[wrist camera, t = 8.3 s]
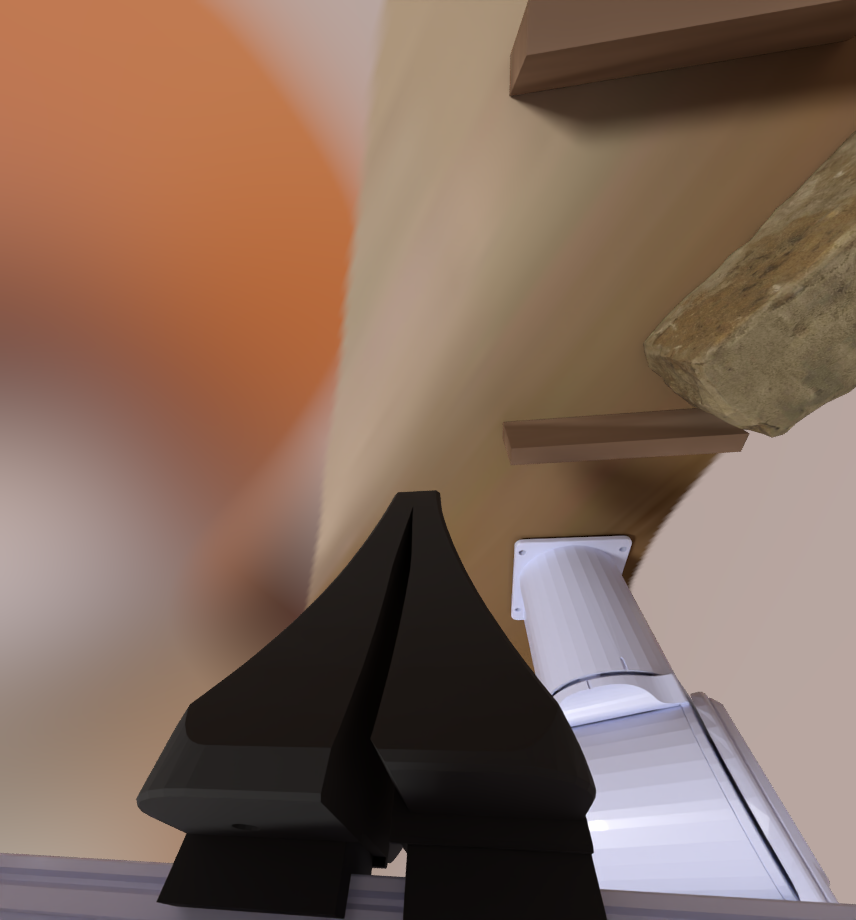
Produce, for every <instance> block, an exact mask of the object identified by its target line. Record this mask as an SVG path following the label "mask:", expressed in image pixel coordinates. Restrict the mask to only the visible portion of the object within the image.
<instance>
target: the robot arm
mask: <svg viewBox="0 0 856 920" xmlns="http://www.w3.org/2000/svg"><path fill="white" fill-rule="evenodd" d="M631 545H632V541H631V539H630V538H629V537H628V536H600V537H574V538H548V539H522V540H518V541H517V542H516V543H515V550H514V569H513V587H512V606H511V615H512V618H513V619H515V620H524V621H525V626H526V631H527V636H528V640H529V645H530V650H531V655H532V660H533V664H534V669H535V674H536V675H535V674H534V672H533V671H532V670H531V669H530V667H529V666H528V665H527V664H526V662H525V661H524V660H523V658H522V657H521V655H520V654H519V653H518V651H517V650H516V649H515V647H514V646H513V645H512V643H511V642H510V641H509V639H508V638H507V636H506V635H505V633H504V632H503V630H502V629H501V627H500V626H499V624H498V623H497V621H496V620H495V619H494V617H493V616H492V614H491V613H490V611H489V610H488V608H487V607H486V605H485V603H484V602H483V600H482V598H481V597H480V595H479V593H478V592H477V590H476V588H475V586H474V585H473V583H472V581H471V579H470V577H469V576H468V574H467V572H466V570H465V568H464V566H463V564H462V562H461V560H460V558H459V556H458V553H457V551H456V549H455V547H454V544H453V542H452V539H451V537H450V534H449V532H448V529H447V526H446V523H445V520H444V517H443V513H442V507H441V498H440V493H439V492H438V491H436V490H434V491H416V492H398V493H397V494H396V495H395V497H394V498H393V500H392V502H391V503H390V505H389V507H388V508H387V510H386V512H385V513H384V515H383V516H382V518H381V520H380V521H379V523H378V524H377V526H376V527H375V528H374V530H373V531H372V533H371V534H370V536H369V537H368V539H367V540H366V541H365V543H364V544H363V545H362V547H361V548H360V549H359V551H358V552H357V553H356V554H355V556H354V557H353V558H352V560H351V561H350V562H349V563H348V565H347V566H346V567H345V568H344V570H343V571H342V572H341V573H340V574H339V575H338V577H337V578H336V579H335V580H334V581H333V582H332V583H331V584H330V585H329V587H328V588H327V589H326V590H325V591H324V592H323V593H322V594H321V595H320V596H319V597H318V598H317V599H316V600H315V601H314V602H313V603H312V604H311V605H310V606H309V607H308V608H307V609H306V610H305V611H304V612H303V613H302V614H301V615H300V616H299V617H298V618H297V619H296V620H295V621H294V622H293V623H292V624H290V625H289V626H288V627H287V628H286V629H285V630H284V631H282V632H281V633H280V634H279V635H278V636H277V637H275V639H273V640H272V641H271V642H270V643H269V644H267V645H266V646H265V647H264V648H263V649H262V650H260V651H259V652H258V653H257V654H256V655H254V656H253V657H252V658H251V659H250V660H248V661H247V662H246V663H245V664H244V665H242V666H241V667H239V668H238V669H237V670H236V671H234V672H233V673H232V674H230V675H229V676H228V677H226V678H225V679H224V680H222V681H221V682H220V683H218V684H217V685H216V686H214V687H213V688H212V689H210V690H209V691H208V692H206V693H205V694H204V695H202V696H201V697H200V698H198V699H197V700H195V701H194V702H193V703H192V704H190V705H189V707H188V709H187V710H186V712H185V714H184V715H183V717H182V718H181V720H180V722H179V723H178V725H177V726H176V728H175V730H174V732H173V733H172V735H171V737H170V739H169V741H168V742H167V744H166V746H165V748H164V750H163V752H162V753H161V755H160V757H159V759H158V761H157V762H156V764H155V766H154V768H153V769H152V771H151V773H150V775H149V777H148V778H147V780H146V782H145V784H144V786H143V788H142V789H141V791H140V793H139V795H138V797H137V799H136V800H137V805H138V807H139V809H140V810H141V811H142V812H144V813H145V814H147V815H149V816H151V817H153V818H155V819H157V820H159V821H161V822H163V823H165V824H168V825H170V826H172V827H174V828H176V829H178V830H180V831H183V832H185V833H187V834H186V836H185V838H184V841H183V843H182V845H181V847H180V850H179V852H178V854H177V856H176V859H175V861H174V863H160V862H159V863H158V862H143V861H127V860H109V859H93V858H77V857H60V856H44V855H27V854H9V853H0V920H856V904H841V903H838V901H837V900H836V898H835V896H834V895H833V893H832V891H831V889H830V888H829V884H830V881H829V879H828V878H827V876H826V874H825V873H824V871H823V869H822V868H821V867H820V864H819V863H818V861H817V859H816V858H815V856H814V854H813V853H812V851H811V849H810V848H809V846H808V845H807V843H806V841H805V840H804V838H803V836H802V835H801V833H800V831H799V830H798V828H797V826H796V825H795V823H794V822H793V820H792V818H791V816H790V815H789V813H788V812H787V810H786V808H785V807H784V805H783V803H782V802H781V800H780V798H779V797H778V795H777V793H776V792H775V790H774V789H773V787H772V785H771V783H770V782H769V780H768V779H767V777H766V775H765V774H764V772H763V770H762V769H761V767H760V765H759V764H758V762H757V761H756V759H755V757H754V755H753V754H752V752H751V750H750V749H749V747H748V746H747V744H746V742H745V741H744V739H743V737H742V736H741V734H740V732H739V731H738V729H737V727H736V726H735V724H734V723H733V721H732V719H731V717H730V716H729V714H728V713H727V711H726V709H725V708H724V706H723V705H722V704H721V703H719V702H717V701H715V700H714V699H712V698H708V697H707V695H706V694H705V693H703V692H696V693H692V694H691V698H692V699H691V698H690V696H689V695H688V693H687V692H686V691H685V689H684V688H683V686H682V685H681V683H680V682H679V680H678V679H677V677H676V675H675V674H674V672H673V670H672V668H671V666H670V664H669V662H668V661H667V659H666V657H665V655H664V653H663V651H662V649H661V647H660V646H659V644H658V642H657V640H656V638H655V636H654V634H653V633H652V631H651V629H650V627H649V625H648V623H647V621H646V620H645V618H644V616H643V614H642V612H641V610H640V608H639V607H638V605H637V603H636V601H635V599H634V597H633V595H632V593H631V592H630V590H629V588H628V586H627V584H626V582H625V580H624V579H623V577H622V573H623V569H624V566H625V563H626V560H627V557H628V554H629V551H630V548H631ZM521 550H523V551H521ZM692 700H693V701H692ZM402 848H404V850H405V851H406V853H407V863H406V877H392V876H375V875H371V871H372V868H385V869H386V868H387V863H391V862H392V861H393V860H394V859H395V858H396V857H397V855H398V854H399V853H400V851H401V850H402Z"/></svg>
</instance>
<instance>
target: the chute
mask: <svg viewBox="0 0 856 920" xmlns="http://www.w3.org/2000/svg"><path fill="white" fill-rule="evenodd" d="M854 36H856V0H528V3H527V6H526V9H525V12H524V15H523V19H522V22H521V25H520V28H519V31H518V34H517V37H516V40H515V43H514V46H513V49H512V52H511V55H510V96H514V95H520V94H526V93H532V92H538V91H544V90H550V89H556V88H562V87H568V86H574V85H580V84H586V83H592V82H599V81H605V80H611V79H617V78H623V77H629V76H635V75H641V74H647V73H653V72H659V71H665V70H671V69H677V68H683V67H690V66H696V65H702V64H708V63H714V62H720V61H726V60H732V59H738V58H744V57H750V56H756V55H762V54H768V53H774V52H781V51H787V50H793V49H799V48H805V47H811V46H817V45H823V44H829V43H835V42H841V41H846V40H848V39H850V38H852V37H854ZM748 435H749V433H748V432H746V431H744V430H743V429H740V428H738V427H736V426H733V425H731V424H729V423H727V422H725V421H723V420H721V419H719V418H718V417H716V416H714V415H712V414H709V413H707V412H705V411H703V410H701V409H698V408H694V409H680V410H666V411H652V412H638V413H624V414H610V415H596V416H582V417H569V418H555V419H541V420H527V421H513V422H503V440H504V444H505V447H506V450H507V454H508V457H509V460H510V464H511V465H523V464H540V463H557V462H574V461H591V460H607V459H624V458H641V457H658V456H675V455H692V454H709V453H726V452H740V451H741V450H742V448H743V446H744V443H745V442H746V440H747V437H748Z"/></svg>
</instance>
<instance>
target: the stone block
mask: <svg viewBox="0 0 856 920" xmlns="http://www.w3.org/2000/svg"><path fill="white" fill-rule="evenodd" d="M644 352H645V355H646V358H647V361H648V365H649V367H650V368H651V369H652V370H653V371H654V372H655V373H657V374H658V375H659V376H661V377H662V378H663V379H664V382H665V384H667V385H668V386H669V387H670V388H671V389H672V390H673V391H674V392H675V393H676V394H678V395H679V396H681V397H682V398H683V399H685V400H686V401H687V402H688V403H689V404H691V405H692V406H694V407H696V408H698V409H701V410H703V411H705V412H707V413H709V414H712V415H714V416H716V417H718V418H719V419H721V420H723V421H725V422H727V423H729V424H731V425H733V426H736V427H738V428H740V429H745V430H751V431H755V432H758V433H762V434H765V435H767V436H770V437H776V436H779V435H783V434H784V433H786V432H787V431H788V430H789V429H790V428H791V427H793V426H794V425H795V424H796V423H797V422H799V421H800V420H802V419H803V418H804V417H806V416H807V415H809V414H810V413H812V412H813V411H815V410H816V409H818V408H819V407H821V406H822V405H824V404H825V403H827V402H830V401H832V400H834V399H836V398H838V397H840V396H842V395H845V394H847V393H849V392H850V391H851V390H852V389H854V388H855V387H856V131H855V132H854V133H853V134H852V135H851V136H850V137H849V138H848V139H847V140H846V141H845V142H844V143H843V144H842V145H841V146H840V147H839V148H838V149H837V150H836V151H835V152H834V153H833V155H832V156H831V157H829V158H828V159H827V160H826V161H825V162H824V163H823V164H822V165H821V166H820V167H819V168H818V169H817V170H816V171H815V172H814V173H813V174H812V175H811V176H810V178H809V179H808V180H807V181H806V182H805V183H804V184H803V185H802V186H801V187H800V188H799V189H798V190H797V192H796V193H794V194H793V195H792V196H791V197H790V198H789V199H787V200H786V201H785V202H784V203H783V204H782V205H780V206H779V207H778V208H777V209H776V210H775V211H774V213H773V214H772V215H771V216H770V218H769V219H768V220H767V221H766V222H765V223H764V224H763V226H762V227H761V228H760V229H759V230H758V232H757V233H756V234H755V235H754V236H753V238H752V239H751V240H750V241H749V242H748V243H746V244H745V245H743V246H742V247H741V248H739V249H738V250H736V251H735V252H733V253H732V254H731V255H729V256H728V258H727V259H726V260H725V262H724V263H723V264H722V265H721V266H720V267H719V268H718V269H717V270H716V271H715V272H714V273H713V274H712V275H711V276H710V277H709V278H708V279H707V280H706V281H704V282H703V283H702V284H701V285H700V286H699V287H697V288H696V289H695V290H694V291H692V292H691V293H690V294H689V295H687V296H686V297H685V298H684V299H683V300H682V301H681V302H680V303H679V304H678V305H677V306H676V307H675V308H674V309H673V310H672V311H671V312H670V313H669V314H668V315H667V316H666V317H665V318H664V319H663V321H662V322H661V323H660V324H659V325H658V326H657V328H656V329H655V330H654V331H653V332H652V333H651V335H650V336H649V337H648V338H647V339H646V341H645V342H644Z"/></svg>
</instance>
